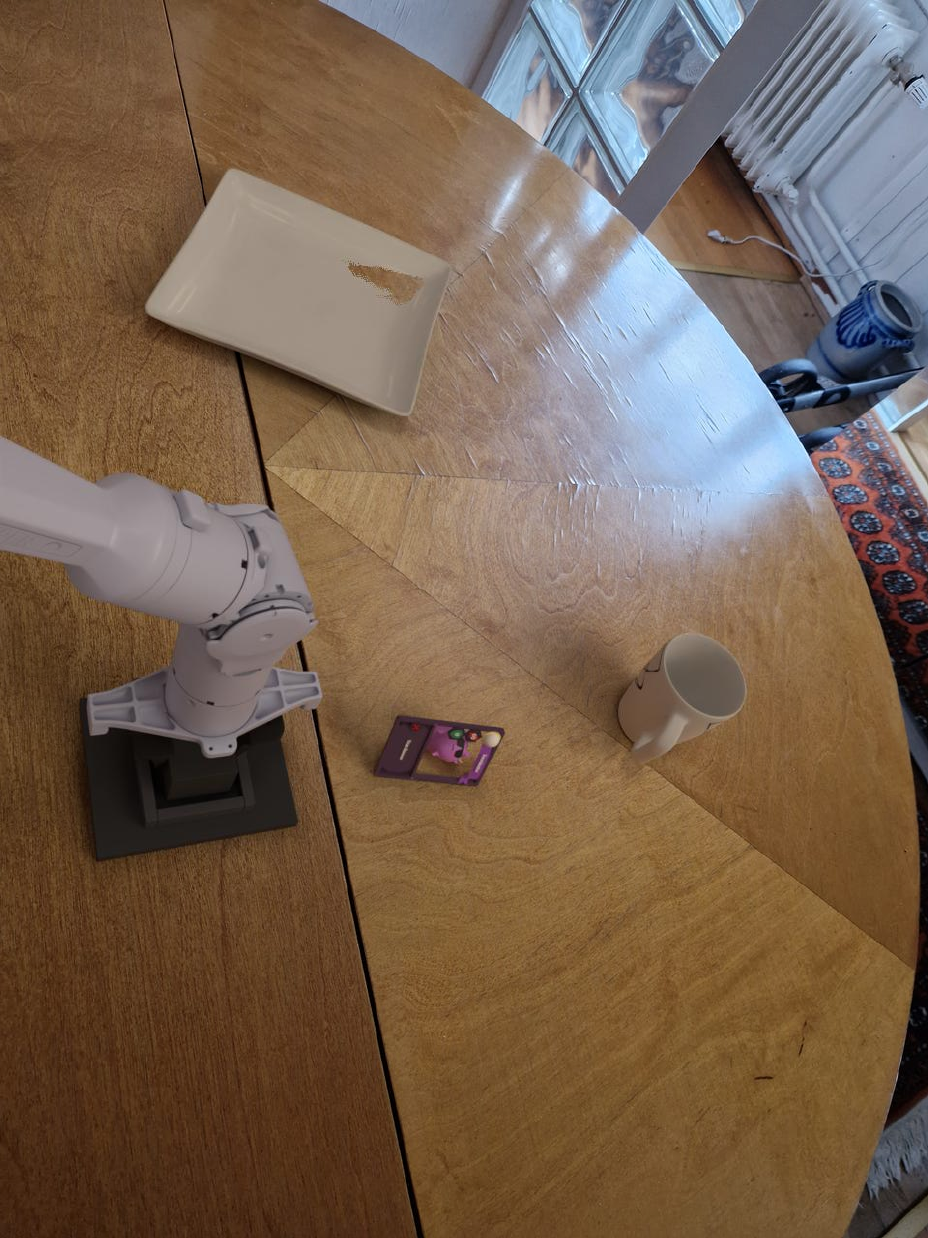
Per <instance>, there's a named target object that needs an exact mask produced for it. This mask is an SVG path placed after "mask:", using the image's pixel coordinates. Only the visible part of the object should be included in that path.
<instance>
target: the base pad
mask: <svg viewBox="0 0 928 1238" xmlns="http://www.w3.org/2000/svg"><path fill="white" fill-rule="evenodd" d="M78 706H79V716H80V724H81V734H82V735H81V736H82V742H83V752H84V753H83V754H84V762H85V769H86V779H87V786H88V787H87V789H88V797H89V806H90V814H91V824H92V832H93V833H92V834H93V842H94V850H95V860H96V862H104V861H109V860H110V861H111V860H114V859H120V858H125V857H131V856H138V855H143V854H148V853H155V852H160V851H164V850H170V849H176V848H181V847H188V846H193V845H198V844H204V843H209V842H210V843H211V842H215V841H220V840H225V839H231V838H236V837H237V838H238V837H243V836H248V835H254V834H259V833H265V832H270V831H276V830H282V829H286V828H292V827H296V826H297V824H298V823H299V820H298V814H297V810H296V805H295V801H294V795H293V791H292V786H291V781H290V776H289V773H288V767H287V762H286V757H285V753H284V748H283V744H282V743H283V742H282V738H281V739H280V741H277V742H273V743H266V744H259V745H256V746H254V747H252V748H250V749H249V750H247V751H245V752H244V753H242V754H241V755H239V756H238V757H236V762H237V768H238V773H237V775H236V777H235V780H234V782H233V784H232V786H231V789H230V791H228V792H221V793H215V794H209V795H202V796H196V797H189V798H183V799H177V800H170V801H166V799H165V792H164V785H163V779H162V772H161V768H157V769H155V768H154V764H153V762H152V761H151V760H150V759H145V760H139V759H138V757H137V756H136V754H135V752H134V749H133V743H132V736H131V730H128V729H122V728H115V727H109V729H108V732H107V733H106V734H101V735H93V736H91V735H90V733H89V724H88V715H87V697H81V698H79V700H78Z"/></svg>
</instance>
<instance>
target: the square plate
mask: <svg viewBox="0 0 928 1238" xmlns="http://www.w3.org/2000/svg"><path fill="white" fill-rule="evenodd" d="M342 260H343V261H342ZM348 261H349V262H348ZM350 261H351V262H350ZM345 262H346V263H345ZM353 262H354V266H355V264H356V266H359V265H362V266H368V267H369V266H370V267H373V266H374V267H375V266H377V267H378V266H379V267H382V269H383V268H384V270H385V269H386V268H387V269H386V271H387V270H392V271H393V270H394V271H393V272H398V271H399V272H398V274H399V273H400V274H401V273H403V274H405V275H406V274H407V275H410V276H411V275H412V277H416V276H418V277H419V279H420V278H423V280H422V281H424V282H423V283H424V285H423V287H420V288H421V289H419V291H417V290H416V293H415V294H413V295H414V296H413V298H412V299H411V300H410V301H408V302H405V303H407V304H405V303H404V305H403V303H400V304H402V305H400V304H399V303H398V304H399V305H397V306H396V304H397V302H398V301H397V302H396V301H395V302H396V304H395V302H394V300H395V299H394V300H393V299H392V300H393V301H392V300H391V298H392V297H391V298H390V296H389V295H390V294H391V295H392V293H393V292H392V293H391V292H390V293H389V291H390V290H389V291H388V290H387V288H386V289H385V288H384V289H383V290H384V292H383V290H382V289H381V290H380V288H381V287H380V288H379V287H378V288H377V286H376V285H375V284H374V283H373V282H366V280H364V279H365V278H364V279H363V278H362V277H356V275H355V273H354V272H353V273H354V275H355V276H353V274H352V272H351V270H349V268H348V266H350V265H349V263H352V265H353ZM358 263H359V264H358ZM377 267H376V268H377ZM379 267H378V268H379ZM352 271H353V270H352ZM392 271H391V272H392ZM452 272H453V265H452V263H450V262H449V261H447V260H446V259H444V258H441V257H439V256H438V255H435V254H433V253H430V252H428V251H426V250H423V249H421V248H419V247H417V246H415V245H413V244H411V243H408V242H406V241H404V240H401V239H400V238H398V237H395V236H393V235H392V234H389V233H387V232H385V231H382V230H380V229H378V228H376V227H374V226H371V225H369V224H366V223H365V222H362V221H360V220H358V219H355V218H354V217H351V216H348V215H346V214H344V213H342V212H340V211H337V210H335V209H333V208H332V207H328V206H326V205H323V204H321V203H319V202H317V201H314V200H312V199H310V198H308V197H305V196H303V195H301V194H298V193H297V192H294V191H291V190H289V189H287V188H285V187H282V186H280V185H277V184H275V183H272V182H270V181H267V180H265V179H263V178H261V177H258V176H255V175H253V174H251V173H248V172H246V171H244V170H241V169H239V168H234V167H229V168H228V169H227V170H226V171H225V172H224V174H223V175H222V177H221V178H220V180H219V182H218V184H217V185H216V187H215V189H214V191H213V193H212V195H211V196H210V198H209V199H208V202H207V204H206V205H205V207H204V209H203V211H202V213H201V214H200V216H199V217H198V219H197V221H196V223H195V224H194V226H193V227H192V229H191V231H190V232H189V234H188V235H187V237H186V238H185V240H184V242H183V243H182V245H181V247H180V248H179V250H178V251H177V253H176V254H175V256H174V258H173V259H172V260H171V263H169V265H168V266H167V268H166V270H164V271H163V274H162V276H161V277H160V279H159V280H158V282H157V283H156V285H155V286H154V288H153V289H152V291H151V293H150V295H148V298H147V300H146V302H145V303H144V311H145V313H146V314H147V315H148V316H150V317H152V318H154V319H155V320H158V321H160V322H162V323H164V324H166V325H167V326H170V327H172V328H174V329H176V330H179V331H181V332H184V333H186V334H189V335H190V336H193V337H196V338H199V339H200V340H203V341H206V342H210V343H212V344H215V345H218V346H220V347H224V348H225V349H229V350H232V351H235V352H237V353H240V354H243V355H246V356H248V357H250V358H254V359H256V360H258V361H261V362H263V363H267V364H268V365H271V366H274V367H276V368H278V369H282V370H283V371H285V372H287V373H290V374H294V375H295V376H298V377H300V378H303V379H306V380H308V381H310V382H313V383H315V384H317V385H319V386H321V387H324V388H326V389H327V390H328V389H329V390H330V391H333V392H335V393H337V394H339V395H342V396H344V397H347V398H349V399H350V400H353V401H355V402H357V403H361V404H364V405H366V406H368V407H371V408H374V409H377V410H379V411H382V412H385V413H389V414H393V415H396V416H400V417H409V416H411V414H412V412H413V410H414V408H415V404H416V401H417V397H418V393H419V389H420V385H421V381H422V376H423V372H424V367H425V362H426V360H427V359H426V358H427V354H428V351H429V347H430V343H431V339H432V336H433V333H434V329H435V325H436V322H437V318H438V316H439V312H440V311H441V306H442V304H443V300H444V298H445V296H446V293H447V289H448V287H449V284H450V282H451V278H452ZM359 274H360V273H359ZM362 275H363V274H362ZM357 276H361V275H357ZM363 277H364V276H363ZM365 277H366V276H365ZM367 277H368V276H367ZM418 277H417V278H418ZM361 278H362V279H361ZM366 279H367V278H366ZM368 279H369V278H368ZM368 279H367V281H368ZM369 281H370V280H369ZM370 283H371V284H370ZM372 283H373V284H372ZM374 285H375V286H374ZM373 287H374V288H373ZM375 287H376V288H375ZM382 288H383V287H382ZM378 289H379V290H378ZM388 289H389V288H388ZM386 290H387V291H386ZM391 291H392V290H391ZM376 295H377V296H376ZM378 295H379V296H378ZM380 295H381V296H380ZM382 295H383V296H382ZM387 295H388V296H389V297H384V296H387ZM393 295H394V294H393ZM415 295H416V296H415ZM379 297H380V298H379ZM381 297H382V298H381ZM383 297H384V298H383ZM386 298H388V299H386ZM389 298H390V299H389ZM390 300H391V301H390ZM393 302H394V303H393ZM399 306H400V307H399Z"/></svg>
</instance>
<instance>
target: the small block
mask: <svg viewBox="0 0 928 1238" xmlns="http://www.w3.org/2000/svg"><path fill="white" fill-rule="evenodd" d="M172 739H173V745H174V752H175V756H170V757H168V759H167V764H166V766H165V767H164V768H161V772H162V779H163V785H164V792H165V799H166V801H170V800H177V799H183V798H189V797H196V796H202V795H209V794H215V793H221V792H228V791H230V789H231V786H232V784H233V782H234V780H235V777H236V775H237V773H238V768H237V762H236V757H235V752H234V753H233V754H232V755H230V756H223V757H216V758H207V757H205V756H204V755H203V753H202V750H201V746H200V744H198V743H197V742H192V741H187V740H182V739H176V738H172Z"/></svg>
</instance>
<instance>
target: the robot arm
mask: <svg viewBox="0 0 928 1238" xmlns="http://www.w3.org/2000/svg"><path fill="white" fill-rule="evenodd" d="M0 551H2V552H8V553H12V554H18V555H22V556H27V557H32V558H37V559H42V560H46V561H50V562H51V561H52V562H56V563H62V565H63V567H64V571H65V573H66V576H67V578H68V579H69V581H70V583H71V584H72V585H73V586H74V588H75V589H76V590H77V591H78V592H79V593H80V594H81V595H83V596H85V597H86V598H89V599H91V600H94V601H97V602H102V603H106V604H109V605H112V606H117V607H121V608H124V609H127V610H131V611H135V612H139V613H142V614H146V615H149V616H154V617H157V618H161V619H163V620H164V619H165V620H168V621H173V622H175V623H179V625H178V629H177V633H176V637H175V642H174V647H173V651H172V654H171V655H172V656H171V659H170V664H169V665H168V666H165V667H162V668H160V669H158V670H155V671H153V672H150V673H149V674H146V675H144V676H140V677H136V678H133V679H132V680H131V681H129V682H127V683H124V684H122V685H120V686H117V687H115V688H112V689H109V690H105V691H104V690H103V691H100V692H93V693H88V694H87V696H86V698H87V715H88V724H89V733H90V735H91V736H93V735H101V734H106V733H107V732H108V729H109V727H115V728H122V729H128V730H131V736H132V743H133V749H134V752H135V754H136V756H137V757H138V759H139V760H145V759H150V760H151V761H152V762H153V764H154V768H155V769H157V768H164V767H165V766H166V764H167V759H168V757H170V756H175V752H174V745H173V739H172V738H176V739H182V740H187V741H192V742H197V743H198V744H200V746H201V750H202V753H203V755H204V756H205V757H207V758H216V757H223V756H230V755H232V754H233V753H234V752H235V757H238V756H239V755H241V754H242V753H244V752H245V751H247V750H249V749H250V748H252V747H254V746H256V745H259V744H266V743H273V742H277V741H280V739H281V740H282V737H283V735H284V733H285V730H286V727H285V720H284V716H283V715H284V714H287V713H288V712H290V711H292V710H294V709H297V708H299V707H300V709H301V710H303V711H309V710H316V709H317V708H318V706H319V705H320V702H321V701H322V698H323V692H322V687H321V684H320V679H319V675H318V672H317V671H316V670H314V671H313V670H312V671H300V670H299V671H297V670H291V669H286V668H282V667H277V666H275V665H276V664H277V662H280V661H282V659H283V658H284V656H285V654H286V652H287V651H288V650H289V649H290V648H291V647H292V646H293V645H295V644H297V643H298V642H300V641H302V640H303V639H305V638H306V637H307V636H308V635H309V634H310V633H312V632H313V631H314V629H315V628H316V627H317V626H318V624H319V622H320V621H319V619H315V615H314V613H313V611H314V609H315V603H314V600H313V596H312V595H311V592H310V589H309V587H308V585H307V582H306V580H305V579H306V578H305V577H304V574H303V571H302V569H301V567H300V564H299V561H298V558H297V556H296V554H295V551H294V548H293V546H292V544H291V541H290V538H289V536H288V534H287V531H286V529H285V527H284V525H283V524H282V523H281V519H280V517H279V515H278V514H277V513H276V512H274V511H273V510H271V509H270V507H269V506H268V505H267V504H263V503H252V502H247V503H236V504H222V503H219V502H217V501H215V502H213V503H211V502H204V498H203V497H202V496H201V495H199V494H197V493H195V492H192V491H191V490H188V489H186V488H182V489H180V490H179V491H175V490H174V489H171V488H169V487H168V486H165V485H163V484H161V483H158V482H156V481H154V480H152V479H150V478H147V477H145V476H143V475H141V474H137V473H134V472H129V471H128V472H127V471H126V472H124V471H123V472H116V473H112V474H107V475H106V476H103V477H102V478H99V479H98V480H96V481H95V482H92V481H89V480H88V479H86V478H83V476H80V475H77V474H76V473H74V472H73V471H70V470H68V469H66V468H64V467H63V466H61V465H59V464H57V463H55V462H53V461H51V460H49V459H47V458H45V457H43V456H41V455H40V454H37V453H35V452H34V451H31V450H30V449H28V448H26V447H24V446H22V445H20V444H19V443H18V444H17V443H16V442H15V441H12V440H10V439H9V438H6V437H5V436H2V435H1V434H0Z"/></svg>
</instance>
